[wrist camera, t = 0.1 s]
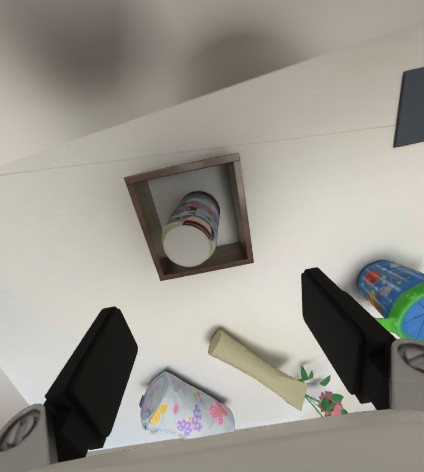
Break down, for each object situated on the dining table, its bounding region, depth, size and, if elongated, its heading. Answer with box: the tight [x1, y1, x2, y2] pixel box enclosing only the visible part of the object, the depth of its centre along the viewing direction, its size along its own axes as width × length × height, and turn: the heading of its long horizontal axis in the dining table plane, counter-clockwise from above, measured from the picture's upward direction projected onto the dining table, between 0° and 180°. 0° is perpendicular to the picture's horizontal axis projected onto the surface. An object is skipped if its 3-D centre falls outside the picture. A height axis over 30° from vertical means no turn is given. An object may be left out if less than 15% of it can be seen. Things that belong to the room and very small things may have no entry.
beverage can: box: [162, 191, 220, 267], centre depth 26 cm, size 6×7×12 cm
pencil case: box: [139, 371, 235, 439], centre depth 43 cm, size 21×9×10 cm, turn 47°
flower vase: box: [208, 329, 348, 417], centre depth 41 cm, size 12×12×35 cm
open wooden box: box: [124, 153, 254, 281], centre depth 28 cm, size 15×14×6 cm
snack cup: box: [357, 260, 424, 342], centre depth 32 cm, size 16×10×10 cm
